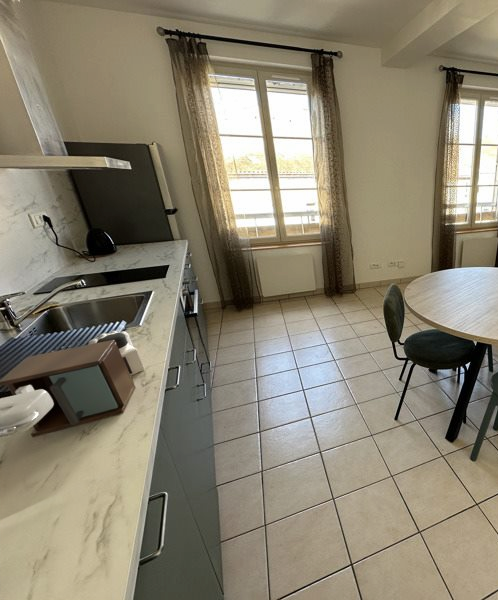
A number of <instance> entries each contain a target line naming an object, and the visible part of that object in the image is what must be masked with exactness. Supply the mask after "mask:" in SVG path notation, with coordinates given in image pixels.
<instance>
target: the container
mask: <svg viewBox="0 0 498 600" xmlns="http://www.w3.org/2000/svg"><path fill="white" fill-rule="evenodd" d="M110 340H115V342H116V344H117V347H118V349H119V351H120V353H121V355H122V358H123V360H124V362H125V364H126V367H127V369H128V371H129V373H130V376H131V377H132V376H134V375H136V374H138V373H140V372H142V371H145V366H144V363H143V361H142V359H141V356H140V354H139V352H138V349H137V348H135V347H134V346H133V347H132V346H130V345H129V344H128V341H127V339H126V337H125V334H123V333H111V334H108V335H105V336H103V337H101V338H100V339H99V340H98V341H97V343H100V342H105V341H110Z"/></svg>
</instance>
